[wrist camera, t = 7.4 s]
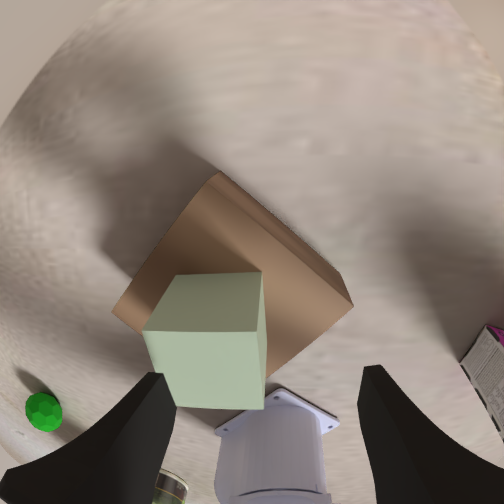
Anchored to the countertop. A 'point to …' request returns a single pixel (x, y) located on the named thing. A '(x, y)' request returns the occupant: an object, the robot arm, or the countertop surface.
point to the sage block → (211, 340)
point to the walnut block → (243, 268)
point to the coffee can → (169, 489)
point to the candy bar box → (488, 372)
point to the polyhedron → (43, 412)
